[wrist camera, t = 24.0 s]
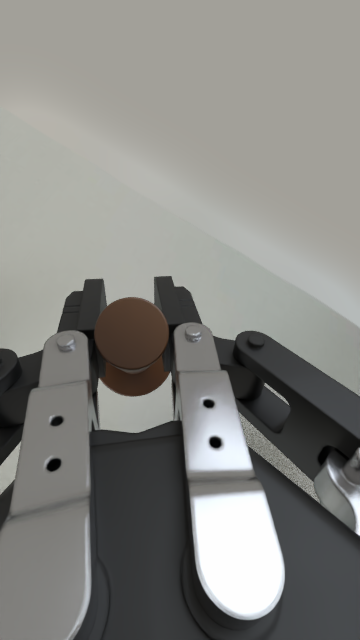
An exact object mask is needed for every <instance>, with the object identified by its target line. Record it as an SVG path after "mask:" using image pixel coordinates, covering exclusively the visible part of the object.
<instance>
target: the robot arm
mask: <svg viewBox="0 0 360 640" xmlns="http://www.w3.org/2000/svg"><path fill="white" fill-rule="evenodd" d="M154 305H156V306H157V307H158V308H159V309H160V310H161V312H162V313H163V314H164V316H165V318H166V320H167V323H168V328H169V339H168V344H167V346H166V349H165V351H164V352H163V354H162V361H163V367H164V372H168V371H171V375H172V403H173V421H170V422H167V423H165V424H162V425H159V426H156V427H154V428H151V429H148V430H146V431H143V432H140V433H128V432H119V431H110V430H100V418H99V403H98V392H97V387H98V378H103V377H106V360H105V359H104V358H103V357H102V356H101V354H100V353H99V351H98V349H97V347H96V343H95V338H94V330H95V325H96V322H97V319H98V317H99V315H100V314H101V312H102V311H103V310H104V309H105V308H106V307H107V303H106V295H105V287H104V280H103V279H86V280H85V283H84V288H83V291H74V292H72V293H71V294H70V295H69V296H68V297H67V298H66V301H65V305H64V308H63V314H62V316H61V319H60V323H59V327H58V331H57V334H55V335H53V336H51V337H50V338H49V339H48V340H47V341H46V342H45V344H44V349H43V350H41V351H39V352H36V353H33V354H30V355H26V356H23V357H19V358H18V357H17V355H16V353H15V352H14V351H12V350H9V349H0V465H1V464H2V463H3V462H4V460H5V459H6V458H7V457H8V456H9V454H10V453H11V452H12V451H13V450H14V449H15V447H16V446H17V445H18V444H19V443H20V441H21V440H22V441H21V447H20V453H19V459H18V465H17V470H16V476H15V480H14V481H13V482H12V483H11V484H10V485H9V486H8V487H7V488H6V489H5V490H4V492H3V493H2V494H1V495H0V640H360V396H358V395H357V394H355V393H354V392H352V391H351V390H349V389H348V388H346V387H345V386H343V385H342V384H340V383H339V382H337V381H336V380H334V379H332V378H331V377H329V376H328V375H326V374H325V373H323V372H322V371H320V370H319V369H317V368H316V367H314V366H313V365H311V364H310V363H308V362H307V361H305V360H304V359H302V358H301V357H299V356H298V355H296V354H295V353H293V352H292V351H290V350H288V349H287V348H285V347H284V346H282V345H281V344H279V343H278V342H276V341H275V340H273V339H272V338H270V337H269V336H267V335H265V334H263V333H260V332H257V331H245V332H242V333H240V334H238V335H237V337H236V340H235V341H234V340H227V339H222V338H218V337H215V336H213V335H212V332H211V330H210V329H209V328H208V327H206V326H205V325H202V322H201V319H200V317H199V314H198V311H197V309H196V306H195V304H194V301H193V298H192V296H191V293H190V292H189V291H188V290H187V289H186V288H184V287H174V284H173V280H172V277H171V276H162V277H155V278H154ZM265 383H266V384H268V385H269V386H270V387H271V388H273V389H274V390H275V391H277V392H278V393H279V394H280V395H282V396H283V397H284V398H285V399H286V400H287V401H288V403H289V405H290V406H289V405H288V404H286V403H285V402H284V401H283V400H281V399H280V398H279V397H278V396H276V395H275V394H274V393H273V392H271V391H270V390H269V389H268V388H266V387H265V386H264V384H265ZM239 412H240V413H241V414H242V415H243V416H244V417H245V418H246V419H247V420H248V421H249V422H250V423H251V424H252V425H253V426H254V427H255V428H257V429H258V430H259V431H260V432H261V433H262V434H263V435H264V436H265V437H266V438H267V439H268V440H269V441H270V442H271V443H273V444H274V445H275V446H276V447H277V448H278V449H279V450H280V451H281V452H282V453H283V454H284V455H285V456H286V457H287V458H289V459H290V460H291V461H292V462H293V463H294V464H295V465H296V466H297V467H298V468H299V469H300V470H301V471H302V472H303V473H304V474H306V475H307V476H308V477H309V478H310V479H311V480H312V481H313V482H314V488H315V492H316V494H317V496H318V498H319V500H320V503H318V502H317V501H316V500H315V499H313V498H312V497H311V496H310V495H308V494H307V493H306V492H305V491H303V490H302V489H301V488H300V487H298V486H297V485H296V484H295V483H294V482H292V481H291V480H290V479H289V478H287V477H286V476H285V475H284V474H282V473H281V472H280V471H279V470H277V469H276V468H275V467H274V466H272V465H271V464H270V463H269V462H267V461H266V460H265V459H264V458H262V457H261V456H260V455H259V454H257V453H256V452H255V451H254V450H252V449H251V448H250V447H249V446H247V442H246V439H245V435H244V431H243V427H242V424H241V420H240V416H239Z"/></svg>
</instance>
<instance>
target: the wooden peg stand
mask: <svg viewBox="0 0 360 640" xmlns="http://www.w3.org/2000/svg"><path fill="white" fill-rule="evenodd" d="M94 338H95V343H96V347H97V349H98V351H99V353H100V354H101V356H102V357H103V358H104V359H105V360H106V377H103V378H100V380H101V381H102V382H103V384H104V385H105V386H107V387H108V388H109V389H110V390H112V391H114V392H115V393H118V394H120V395H124V396H131V397H132V396H142V395H145V394H148V393H150V392H152V391H154V390H155V389H157V388H158V387H159V386H161V385H162V383H163V382H164V381H165V380H166V378H167V377H168V375H169V373H170V371H168V372H164V367H163V361H162V354H163V352H164V351H165V349H166V346H167V344H168V339H169V328H168V323H167V320H166V318H165V316H164V314H163V313H162V312H161V310H160V309H159V308H158V307H157V306H156V305H154V304H153V303H151V302H149V301H147V300H145V299H142V298H136V297H128V298H122V299H119V300H116V301H114V302H113V303H111V304H110V305H108V306H107V307H106V308H105V309H104V310H103V311H102V312H101V314H100V315H99V317H98V319H97V322H96V325H95V330H94Z"/></svg>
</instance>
